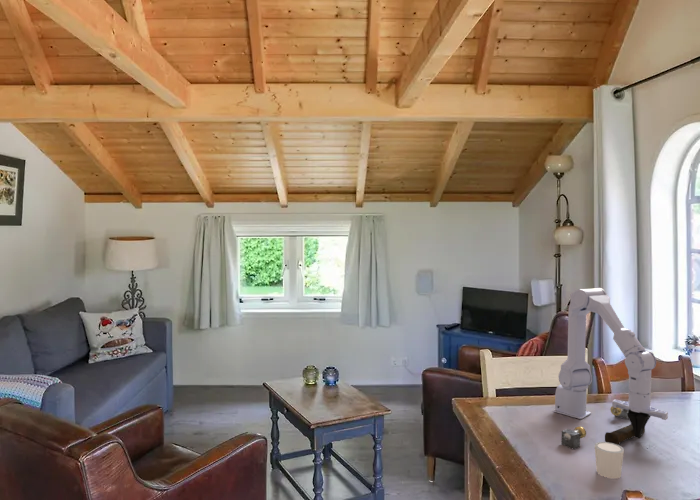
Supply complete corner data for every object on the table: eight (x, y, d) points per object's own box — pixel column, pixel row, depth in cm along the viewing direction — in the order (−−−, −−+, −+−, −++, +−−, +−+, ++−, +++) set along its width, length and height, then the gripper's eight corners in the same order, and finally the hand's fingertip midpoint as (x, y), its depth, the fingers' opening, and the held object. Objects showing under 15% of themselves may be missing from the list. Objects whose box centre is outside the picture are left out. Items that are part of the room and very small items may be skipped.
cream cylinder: (588, 467, 136) (589, 441, 136) (613, 466, 137) (614, 441, 136) (603, 480, 129) (604, 453, 129) (629, 479, 130) (630, 452, 130)
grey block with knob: (620, 421, 169) (621, 407, 169) (609, 417, 172) (609, 404, 172) (632, 417, 172) (632, 403, 172) (620, 413, 176) (621, 400, 176)
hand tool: (616, 449, 148) (617, 433, 148) (603, 443, 152) (604, 428, 152) (653, 435, 158) (653, 420, 158) (640, 431, 161) (640, 416, 161)
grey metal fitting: (574, 439, 154) (575, 424, 154) (587, 444, 151) (587, 428, 151) (560, 444, 151) (560, 429, 150) (572, 449, 147) (572, 433, 147)
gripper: (608, 388, 155) (607, 433, 156) (662, 400, 144) (661, 448, 145) (617, 384, 160) (616, 427, 160) (670, 395, 149) (669, 441, 150)
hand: (638, 436), depth 153 cm, fingers closed
